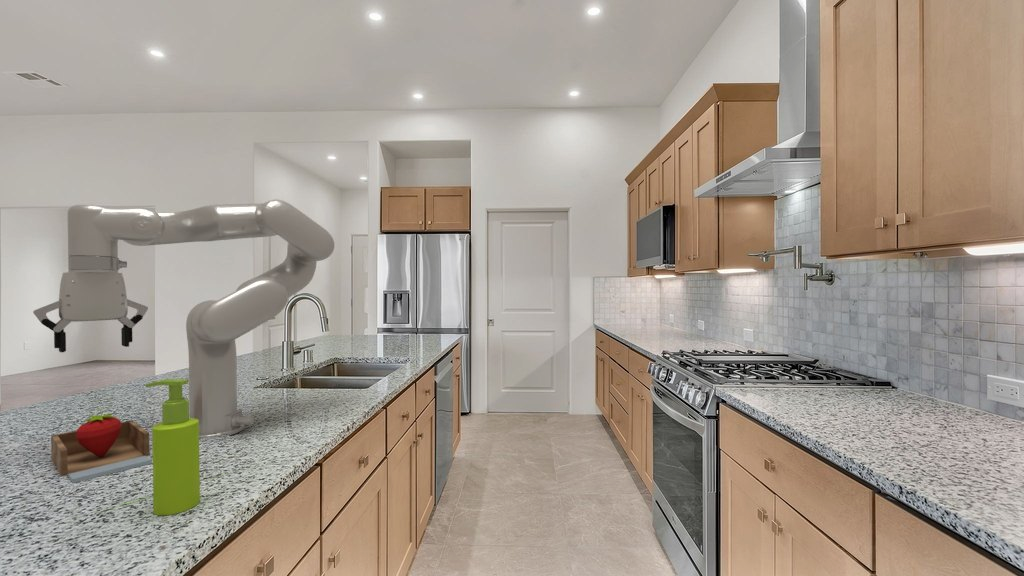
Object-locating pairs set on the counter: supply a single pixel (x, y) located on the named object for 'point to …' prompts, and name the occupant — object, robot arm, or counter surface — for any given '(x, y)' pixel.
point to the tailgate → (108, 469)
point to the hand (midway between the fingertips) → (95, 348)
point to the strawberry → (99, 433)
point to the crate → (77, 458)
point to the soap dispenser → (175, 454)
